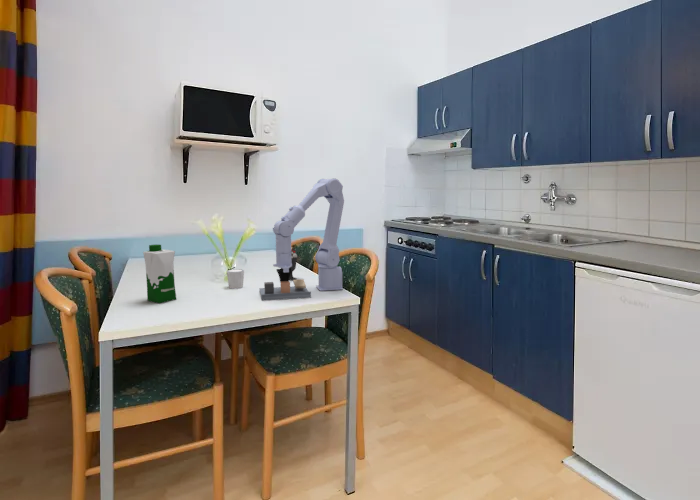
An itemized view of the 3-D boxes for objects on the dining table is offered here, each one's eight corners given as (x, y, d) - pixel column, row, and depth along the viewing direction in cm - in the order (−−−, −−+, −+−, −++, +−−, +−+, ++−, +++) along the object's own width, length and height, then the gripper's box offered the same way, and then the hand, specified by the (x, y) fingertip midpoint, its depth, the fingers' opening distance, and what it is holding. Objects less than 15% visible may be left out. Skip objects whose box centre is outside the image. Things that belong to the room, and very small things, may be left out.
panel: (304, 288, 175) (304, 281, 175) (310, 297, 161) (310, 290, 160) (259, 291, 171) (259, 284, 170) (261, 300, 156) (261, 293, 156)
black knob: (273, 292, 163) (272, 281, 162) (273, 294, 160) (273, 283, 159) (264, 292, 162) (264, 282, 161) (265, 294, 159) (264, 284, 158)
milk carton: (165, 295, 163) (161, 243, 160) (180, 299, 158) (177, 245, 156) (143, 301, 156) (139, 246, 153) (159, 304, 151) (155, 247, 148)
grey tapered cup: (240, 289, 174) (239, 272, 173) (224, 288, 175) (223, 271, 174) (247, 285, 181) (246, 269, 180) (232, 285, 182) (231, 268, 181)
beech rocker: (303, 281, 171) (303, 279, 171) (305, 287, 165) (305, 285, 165) (293, 281, 170) (293, 279, 170) (295, 288, 164) (295, 286, 164)
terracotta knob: (289, 291, 164) (289, 281, 164) (290, 293, 161) (290, 282, 160) (280, 291, 163) (280, 281, 163) (281, 293, 160) (281, 283, 160)
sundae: (301, 278, 195) (301, 245, 193) (292, 281, 189) (291, 247, 187) (290, 277, 198) (289, 244, 196) (280, 279, 193) (279, 246, 190)
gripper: (271, 250, 169) (272, 284, 171) (274, 255, 155) (275, 292, 157) (289, 249, 171) (290, 283, 173) (294, 255, 157) (294, 291, 159)
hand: (284, 287), depth 165 cm, fingers closed
